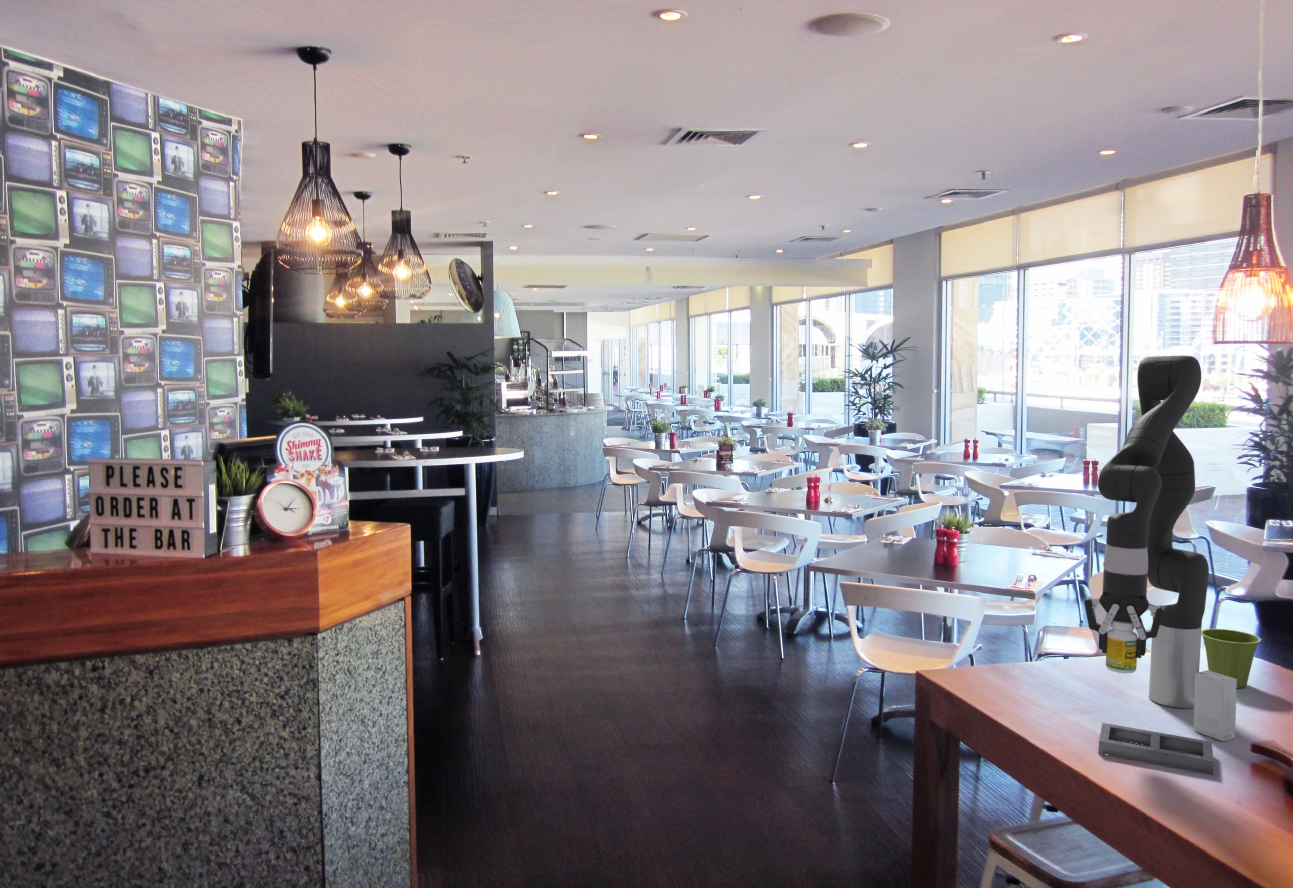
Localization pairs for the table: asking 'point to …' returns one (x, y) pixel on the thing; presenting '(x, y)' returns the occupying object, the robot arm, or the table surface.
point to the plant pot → (1230, 653)
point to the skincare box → (1215, 705)
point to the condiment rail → (1157, 748)
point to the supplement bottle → (1121, 647)
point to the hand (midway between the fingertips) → (1121, 654)
